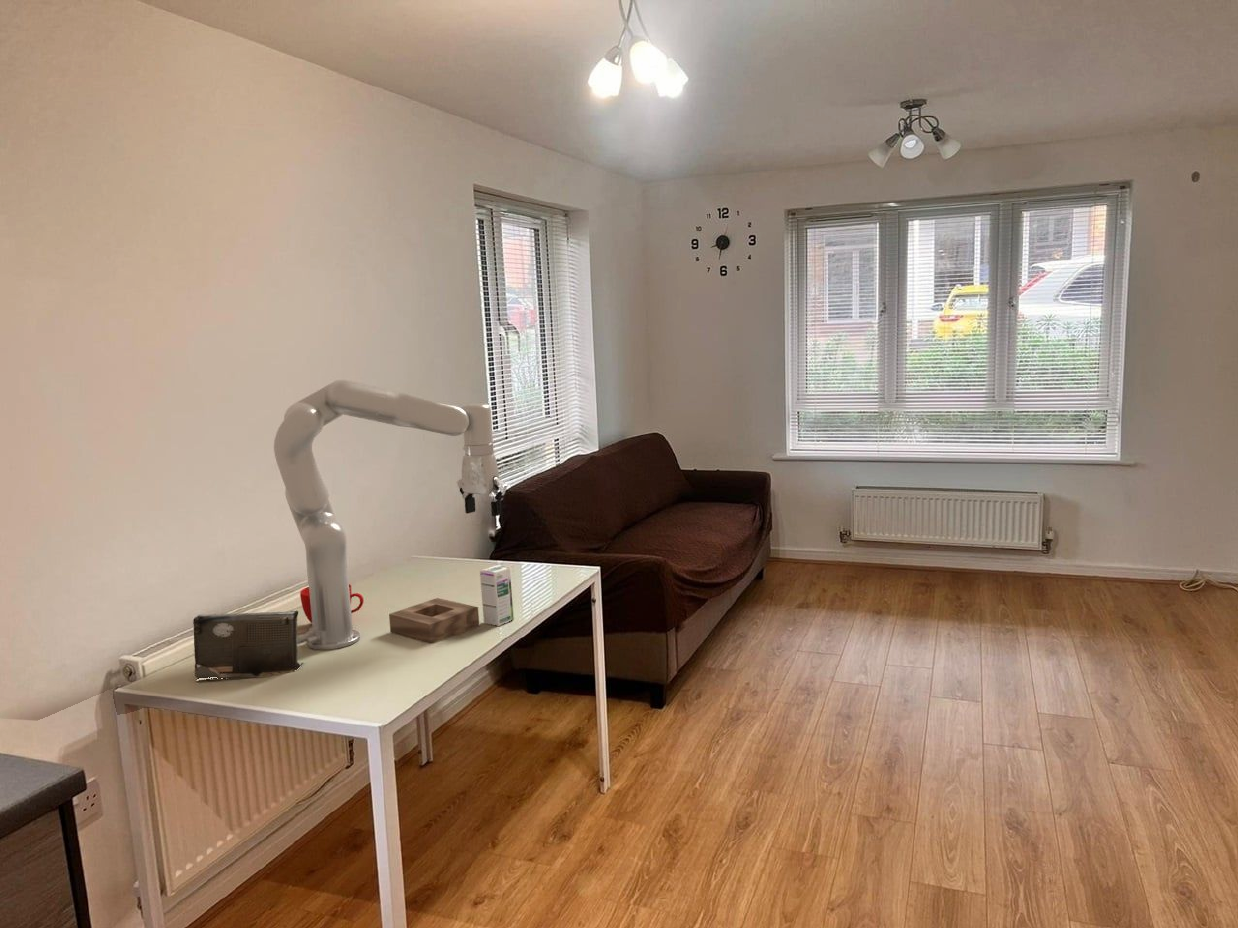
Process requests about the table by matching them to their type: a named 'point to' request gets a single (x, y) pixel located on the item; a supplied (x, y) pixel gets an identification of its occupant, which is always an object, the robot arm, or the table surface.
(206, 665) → the radio
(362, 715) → the table surface
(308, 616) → the ceramic cup
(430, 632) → the socket block
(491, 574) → the syrup box
